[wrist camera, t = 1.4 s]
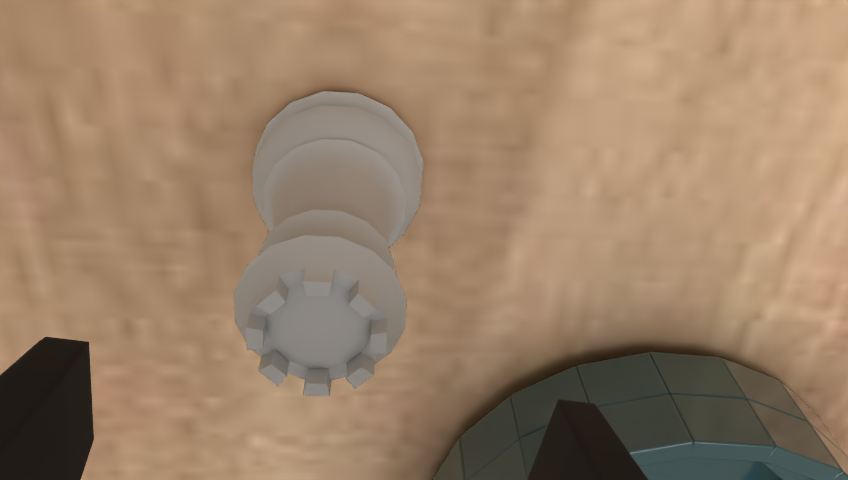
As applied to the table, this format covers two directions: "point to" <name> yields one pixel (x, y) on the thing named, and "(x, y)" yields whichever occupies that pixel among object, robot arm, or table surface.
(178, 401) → the table surface
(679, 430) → the teal bowl
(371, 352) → the rook chess piece
